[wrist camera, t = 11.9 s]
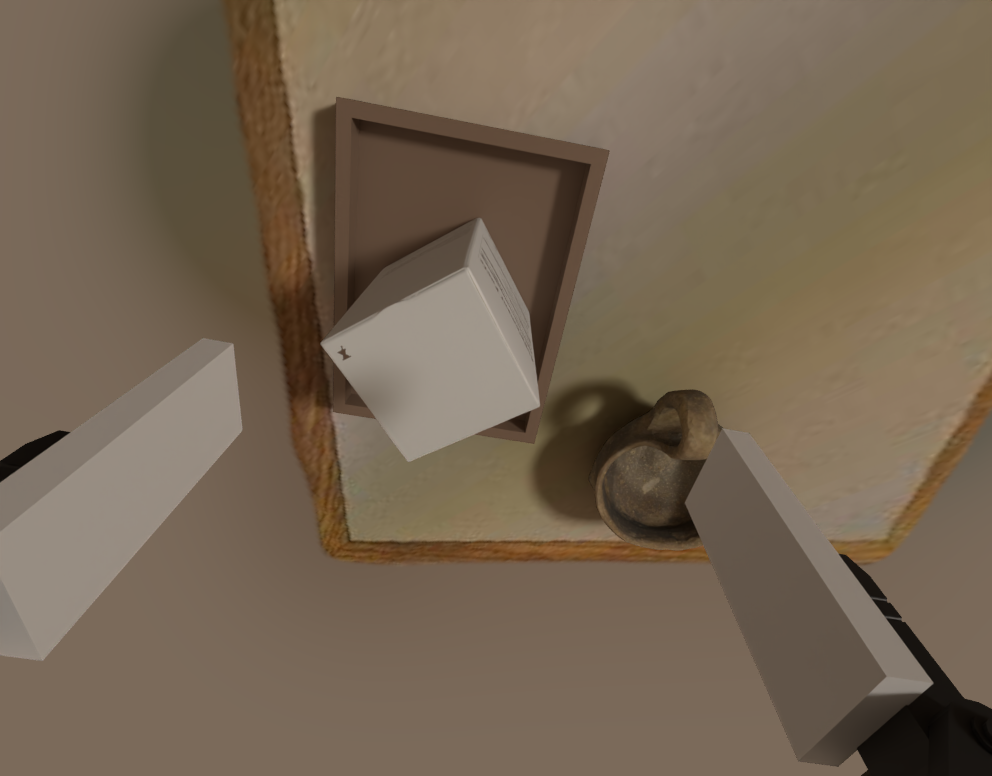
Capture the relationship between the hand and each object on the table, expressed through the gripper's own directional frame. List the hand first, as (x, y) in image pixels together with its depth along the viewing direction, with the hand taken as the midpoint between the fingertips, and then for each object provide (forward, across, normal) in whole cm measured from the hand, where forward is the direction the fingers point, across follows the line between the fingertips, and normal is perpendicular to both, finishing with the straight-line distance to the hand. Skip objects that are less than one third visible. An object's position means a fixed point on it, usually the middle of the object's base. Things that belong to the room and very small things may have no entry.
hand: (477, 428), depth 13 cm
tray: (+27, -3, -6) cm, 28 cm away
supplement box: (+26, -2, -5) cm, 27 cm away
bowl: (+27, +18, -16) cm, 36 cm away
